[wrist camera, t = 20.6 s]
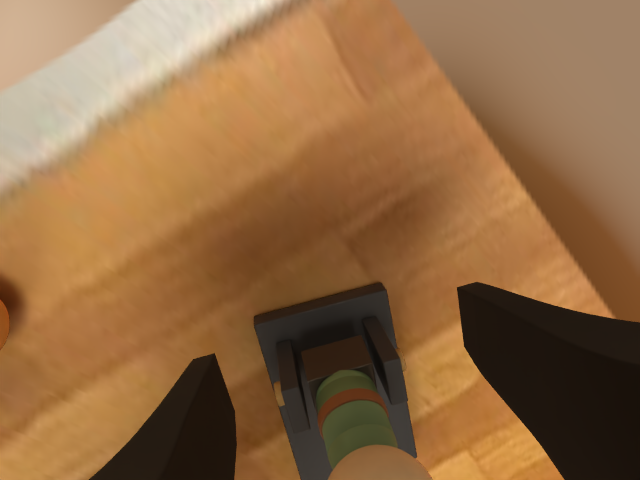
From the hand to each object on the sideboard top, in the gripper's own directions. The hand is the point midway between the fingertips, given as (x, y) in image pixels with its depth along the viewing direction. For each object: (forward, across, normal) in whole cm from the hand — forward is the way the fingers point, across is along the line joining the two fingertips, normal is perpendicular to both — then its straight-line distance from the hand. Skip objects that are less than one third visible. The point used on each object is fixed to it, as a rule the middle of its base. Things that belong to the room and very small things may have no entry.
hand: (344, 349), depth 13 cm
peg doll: (+8, 0, +6) cm, 10 cm away
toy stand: (+10, 0, +9) cm, 14 cm away
